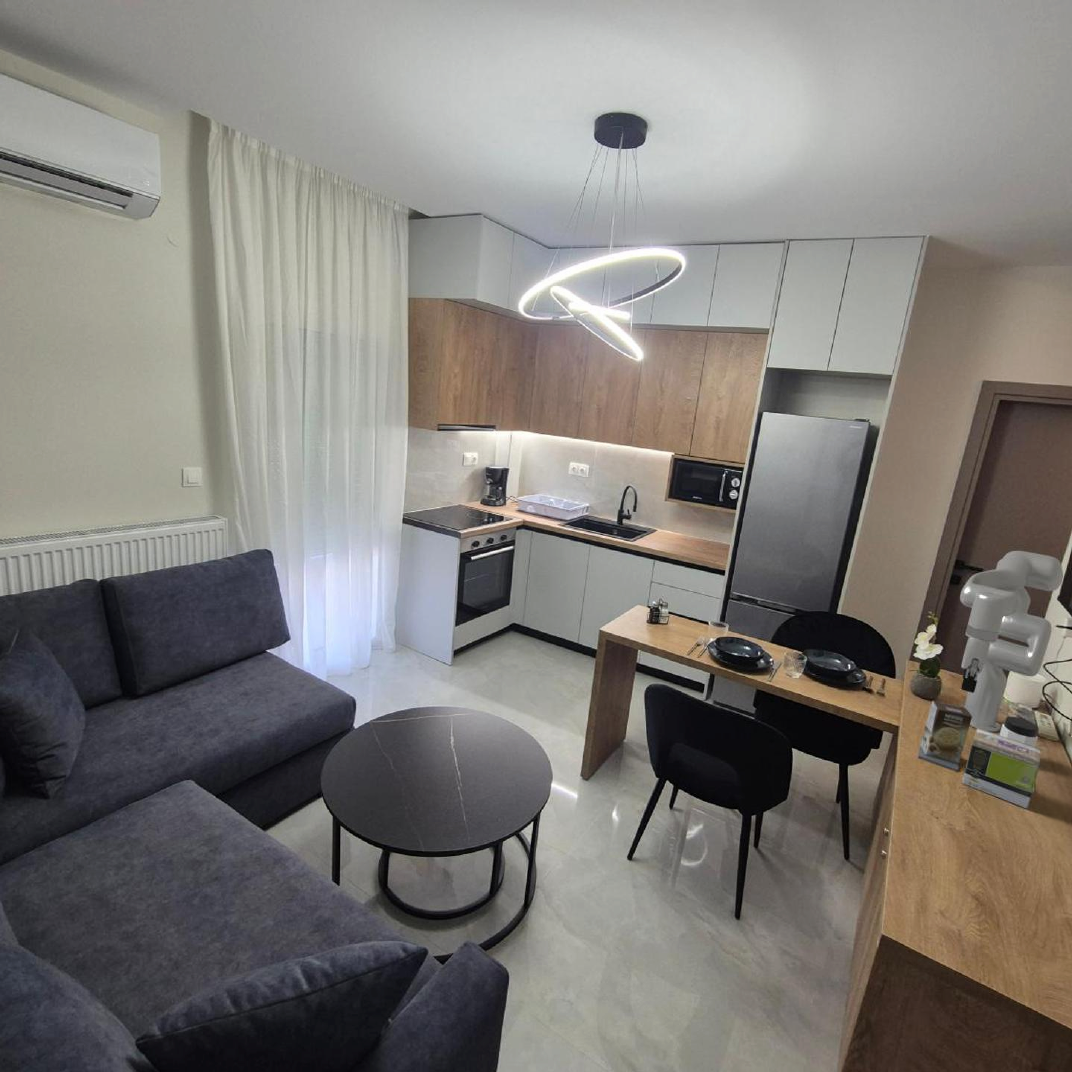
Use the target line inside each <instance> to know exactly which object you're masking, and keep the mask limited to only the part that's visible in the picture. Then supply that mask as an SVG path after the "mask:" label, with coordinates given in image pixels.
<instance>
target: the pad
mask: <svg viewBox="0 0 1072 1072" xmlns="http://www.w3.org/2000/svg"><path fill="white" fill-rule="evenodd" d="M918 752H919V753H918V756H917V757H918V759H920V760H923V761H924V762H925V761H926V762H928V763H931V764H935V765H937V766H939V767H942V768H945V769H948V770H950V771H954V772H959V771H958V770H959V763H957V762H953V761H949V760H945V759H941V758H937V757H933V756H929V755H926V754H925V753H924V751H923V749H922V747H921V745H920V747H919V751H918Z"/></svg>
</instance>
